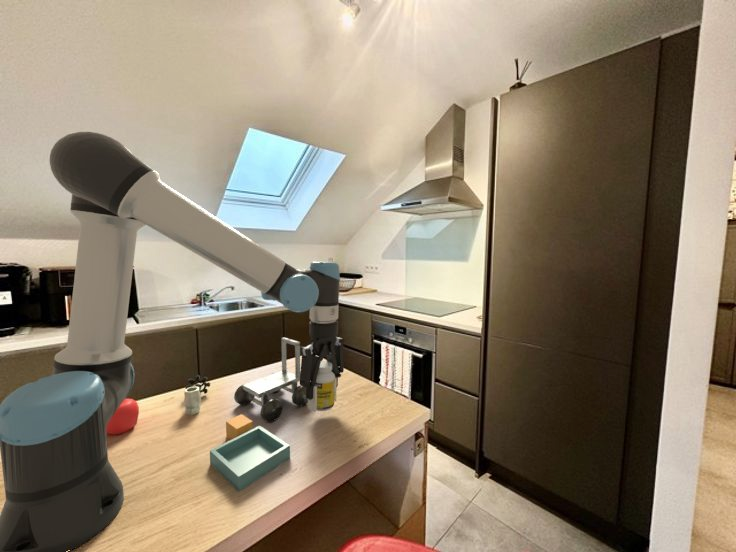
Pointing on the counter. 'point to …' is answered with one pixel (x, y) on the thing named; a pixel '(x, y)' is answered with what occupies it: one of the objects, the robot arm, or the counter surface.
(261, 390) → the trolley
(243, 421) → the block
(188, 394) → the valve
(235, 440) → the tray
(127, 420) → the apple
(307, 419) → the counter surface
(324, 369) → the pill bottle
